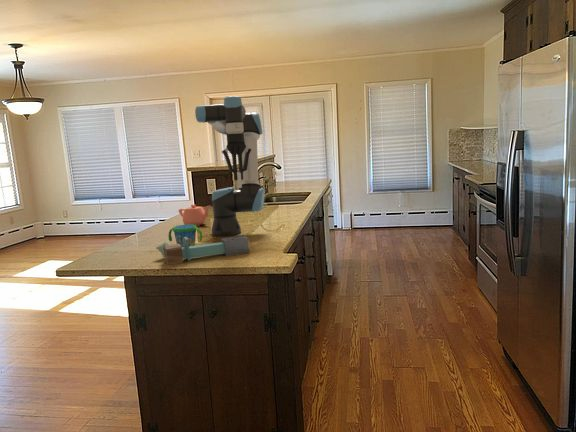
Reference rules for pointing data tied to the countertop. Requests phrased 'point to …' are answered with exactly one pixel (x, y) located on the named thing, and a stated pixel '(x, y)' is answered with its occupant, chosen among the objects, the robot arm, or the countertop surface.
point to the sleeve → (236, 245)
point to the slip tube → (201, 249)
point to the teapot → (194, 215)
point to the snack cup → (185, 234)
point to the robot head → (162, 248)
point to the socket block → (173, 254)
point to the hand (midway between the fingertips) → (239, 187)
